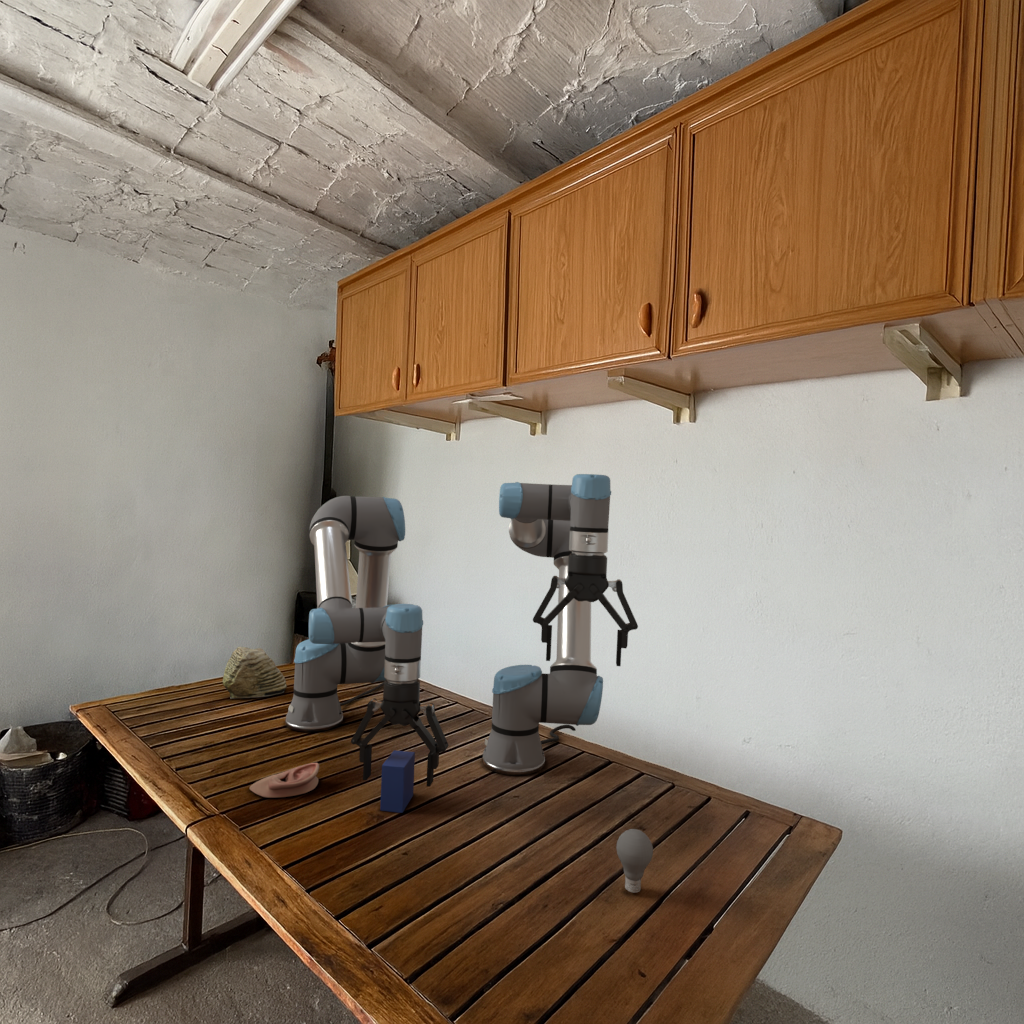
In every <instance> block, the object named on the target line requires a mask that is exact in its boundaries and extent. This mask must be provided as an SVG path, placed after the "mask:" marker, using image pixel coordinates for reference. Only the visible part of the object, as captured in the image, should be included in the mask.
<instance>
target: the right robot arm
mask: <svg viewBox="0 0 1024 1024" xmlns="http://www.w3.org/2000/svg"><path fill="white" fill-rule="evenodd" d="M499 487H500V488H499V496H498V497H499V498H498V514H499V516H500V517H501V518H505V519H510V522H509V524H508V534H509V538H510V540H511V541H512V543H513V544H514V545H515V546H516V547H517V548H518V549H520V550H521V551H522V552H523V551H524V552H525V553H527V554H530V555H532V556H536V557H540V558H552V559H553V565H554V566H555V568H556V569H557V570H558V575H553V576H552V577H551V580H550V586H549V589H548V591H547V592H546V595H545V596H544V598H543V599H542V602H541V603H540V604H539V606H538V609H537V610H536V612H535V614H534V615H533V617H532V622H533V623H535V624H538V625H540V627H541V631H540V632H541V633H540V634H541V635H540V641H541V643H543V644H544V643H545V644H546V648H545V649H546V650H545V661H546V662H550V661H551V657H552V638H553V637H552V636H553V624H551V623H552V622H553V620H554V619H555V618H556V617H557V631H556V660H555V661H554V662H553V663H552V664H551V665H550V667H549V673H543V671H542V668H541V667H540V666H538V665H532V664H516V665H511V666H507V667H503V668H501V669H499V670H498V671H497V672H496V673H495V674H494V677H493V686H492V690H491V692H492V707H491V708H492V709H491V710H492V711H491V729H490V733H489V735H488V738H484V746H485V747H484V749H483V752H482V764H483V765H484V767H485V768H487V769H488V770H490V771H492V772H495V773H497V774H501V775H507V776H526V775H531V774H535V773H538V772H540V771H541V770H543V769H544V767H545V763H546V757H545V756H546V755H545V751H544V750H543V745H546V744H549V743H555V742H559V740H560V736H559V735H558V734H556V733H557V732H558V731H561V730H564V729H569V730H571V731H572V732H575V731H576V730H577V729H576V728H575V727H574V726H573V725H575V726H591V725H594V724H595V723H596V722H597V721H598V720H599V719H598V718H599V715H600V710H601V705H602V698H603V690H604V678H603V677H602V676H600V675H598V668H597V667H596V666H595V665H594V664H593V663H592V603H595V602H597V601H598V602H599V603H600V604H601V605H602V606H603V608H604V609H605V610H606V612H607V613H608V614H609V615H610V617H611V618H612V619H613V621H614V622H615V623H616V625H617V626H618V628H620V629H617V632H616V633H617V635H616V654H615V665H616V667H621V666H622V665H621V664H622V649H627V648H628V641H629V632H630V631H633V630H637V629H638V628H639V625H638V622H637V620H636V618H635V616H634V613H633V611H632V608H631V606H630V604H629V602H628V600H627V598H626V596H625V593H624V587H623V581H622V580H621V579H618V578H617V579H615V580H608V578H607V576H608V575H607V573H608V556H607V555H605V554H606V553H608V551H609V523H610V507H611V506H610V505H611V496H612V490H611V478H610V476H608V475H606V474H597V473H595V474H593V473H577V474H575V475H574V476H573V477H572V481H571V484H549V483H529V482H519V481H515V482H504V483H502V484H501V485H500V486H499ZM609 587H610V588H611V590H612V592H614V593H616V595H617V597H618V600H619V602H620V604H621V606H622V608H623V609H622V610H623V612H624V613H625V616H626V618H627V620H628V622H627V623H626V621H625V620H624V619H623V618H622V616H621V615H620V614H619V613H618V611H617V610H616V608H614V606H613V605H612V603H611V602H610V601H609V600H608V598H607V597H606V595H605V594H604V593H605V592H606V591H607V590H608V588H609ZM557 589H558V595H557V604H556V605H555V607H554V608H553V609H552V610H551V611H550V612H549V613H548V614H547V615H546V616H545V617H542V616H543V614H544V613H545V611H546V609H547V607H548V606H549V603H550V602H551V600H552V598H553V596H554V595H555V593H556V590H557ZM540 723H541V724H556V725H559V726H556V727H554V728H552V729H551V730H550V731H549V735H550V736H551V738H546V739H541V737H540Z"/></svg>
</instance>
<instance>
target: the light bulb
mask: <svg viewBox="0 0 1024 1024" xmlns="http://www.w3.org/2000/svg"><path fill="white" fill-rule="evenodd" d="M615 849H616V854H617V857H618V859H619V861H620V863H621V865H622V867H623V873H624V874H623V875H624V876H625V878H624V888H625V890H627V891H628V892H630V893H634V894H635V893H639V892H640V891H641V889H642V887H641V886H642V879H643V877H644V875H645V871H646V868H647V867H648V866H649V864H650V863H651V861H652V859H653V855H654V847H653V843H652V841H651V838H649V836H648V835H647V834H646V833H645V832H643V831H642V830H641V829H636V828H629V829H627V830H625V831H623V832H622V833H621V834H620V835H619V837H618V839H617V841H616V847H615Z"/></svg>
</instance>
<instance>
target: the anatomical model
mask: <svg viewBox="0 0 1024 1024" xmlns="http://www.w3.org/2000/svg"><path fill="white" fill-rule="evenodd" d="M319 770H320V764H319V763H318V762H310V763H307V764H303V765H299V766H297V767H294V768H290V769H288V770H285V771H282V772H279V773H276V774H272V775H269V776H266V777H264V778H261V779H259V780H257V781H255V782H254V783H253V784H251V785H250V786H249V790H250V792H251V793H253V794H256V795H257V796H259V797H263V798H266V799H267V798H268V799H274V798H275V799H276V798H286V797H288V798H289V797H293V796H299V795H303V794H306V793H308V792H310V791H313V790H314V789H316V787H317V786H318V784H319V778H318V777H317V775H318V773H319Z"/></svg>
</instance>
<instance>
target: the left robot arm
mask: <svg viewBox="0 0 1024 1024" xmlns="http://www.w3.org/2000/svg"><path fill="white" fill-rule="evenodd" d="M308 532H309V540H310V543H311V544H312V545H313V548H314V565H315V566H314V567H315V569H314V570H315V587H316V605H317V607H316V608H312V609H310V611H309V614H308V639H305V640H303V641H301V642H299V643H298V644H297V645H296V648H295V655H294V660H293V663H294V680H293V695H292V696H293V697H292V699H291V702H290V704H289V706H288V711H287V713H286V715H285V726H286V728H287V729H289V730H291V731H294V732H295V731H296V732H301V733H316V732H325V731H329V730H332V729H335V728H337V727H339V726H340V725H342V723H343V722H344V714H343V709H342V706H343V707H344V706H346V705H348V704H351V703H352V702H354V701H356V700H358V699H359V698H362V697H363V696H366V695H368V694H371V693H373V692H375V691H377V690H378V689H380V688H381V687H383V692H382V697H383V698H382V701H379V700H377V698H374V697H373V698H372V699H370V700H369V702H368V703H367V706H366V712H365V713H364V716H363V718H362V720H361V721H360V723H359V724H358V727H357V728H356V731H355V732H354V734H353V736H352V738H351V740H350V743H351V745H356V746H358V747H359V759H358V760H359V763H363V765H362V767H363V768H362V781H367V780H368V779H369V778H370V777H371V775H372V753H373V744H370V742H371V740H372V739H373V738H374V737H375V736H376V735H377V734H378V733H379V732H380V731H381V730H382V729H383V728H384V727H385V725H387V723H390V724H391V725H392V726H397V725H400V726H404V727H406V726H408V725H409V726H410V727H411V729H413V730H414V731H415V733H416V734H417V736H419V738H420V739H421V740H422V742H423V744H424V745H425V746H426V748H427V749H428V750H429V752H428V754H427V759H426V761H427V763H426V764H427V765H426V787H431V786H432V784H433V782H434V776H435V775H434V774H435V771H434V770H437V768H438V767H439V765H440V763H439V762H440V753H445V752H446V751H447V749H448V747H449V743H448V741H447V738H446V736H445V733H444V731H443V728H442V726H441V724H440V722H439V719H438V718H437V715H436V710H435V709H436V707H435V703H433V702H430V703H429V704H421V702H420V698H421V697H420V695H421V694H420V693H421V681H420V678H421V671H422V669H421V668H422V641H423V626H424V620H423V609H422V607H421V606H420V605H417V604H414V603H413V604H412V603H395V604H388V598H389V597H388V596H389V586H390V573H391V562H392V553H393V552H395V551H396V550H397V549H398V547H399V542H402V541H404V540H405V539H406V520H405V513H404V508H403V504H402V502H401V501H400V500H399V499H397V498H393V497H392V498H391V497H385V496H353V495H340V496H336V497H334V498H331V499H329V500H327V501H326V502H325V503H324V504H322V505H321V506H320V507H319V508H318V509H317V511H316V512H315V514H314V515H313V517H312V518H311V521H310V524H309V531H308ZM349 540H350V541H351V540H352V541H354V545H353V546H354V547H355V548H356V549H357V550H358V553H359V554H358V569H357V583H356V596H355V597H356V598H355V607H353V598H352V590H351V580H350V572H349V571H350V569H349V561H348V554H347V553H348V552H347V542H348V541H349ZM379 682H381V683H380V684H378V685H376V686H374V687H373V688H371V689H369V690H366V691H364V692H362V693H359V694H357V695H356V696H353V697H352V698H350V699H348V700H346V701H343V702H340V699H339V695H338V685H353V684H374V683H379ZM379 709H380V710H381V712H382V713H383V714H384V717H383V718H381V720H380V721H378V723H377V724H376V725H375V726H374V727H373V728H372V730H371V731H369V733H368V734H367V735H366V736H365V737H363V735H364V733H365V731H366V729H367V728H368V726H369V724H370V722H371V720H372V718H373V717H374V714H375V713H376V712H377V711H379ZM420 712H422V713H423V715H424V717H426V720H427V723H428V725H429V727H430V730H431V732H432V733H430V731H429V730H428V728H427V727H426V726H425V724H424V723H423V722H422V718H421V717H420V716H419V713H420ZM432 734H433V735H432Z"/></svg>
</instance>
